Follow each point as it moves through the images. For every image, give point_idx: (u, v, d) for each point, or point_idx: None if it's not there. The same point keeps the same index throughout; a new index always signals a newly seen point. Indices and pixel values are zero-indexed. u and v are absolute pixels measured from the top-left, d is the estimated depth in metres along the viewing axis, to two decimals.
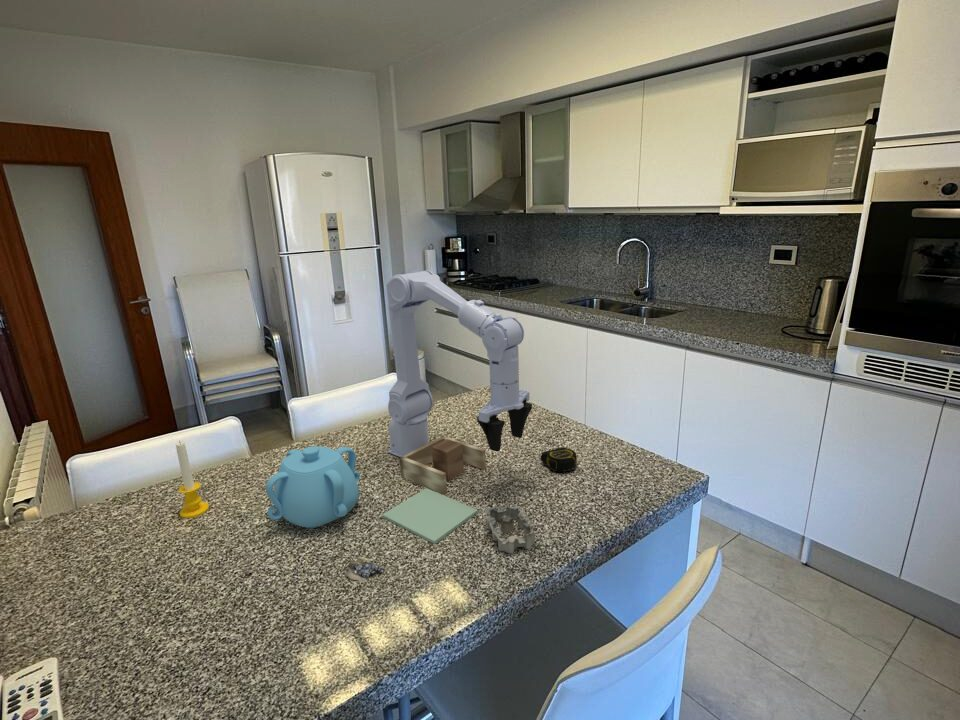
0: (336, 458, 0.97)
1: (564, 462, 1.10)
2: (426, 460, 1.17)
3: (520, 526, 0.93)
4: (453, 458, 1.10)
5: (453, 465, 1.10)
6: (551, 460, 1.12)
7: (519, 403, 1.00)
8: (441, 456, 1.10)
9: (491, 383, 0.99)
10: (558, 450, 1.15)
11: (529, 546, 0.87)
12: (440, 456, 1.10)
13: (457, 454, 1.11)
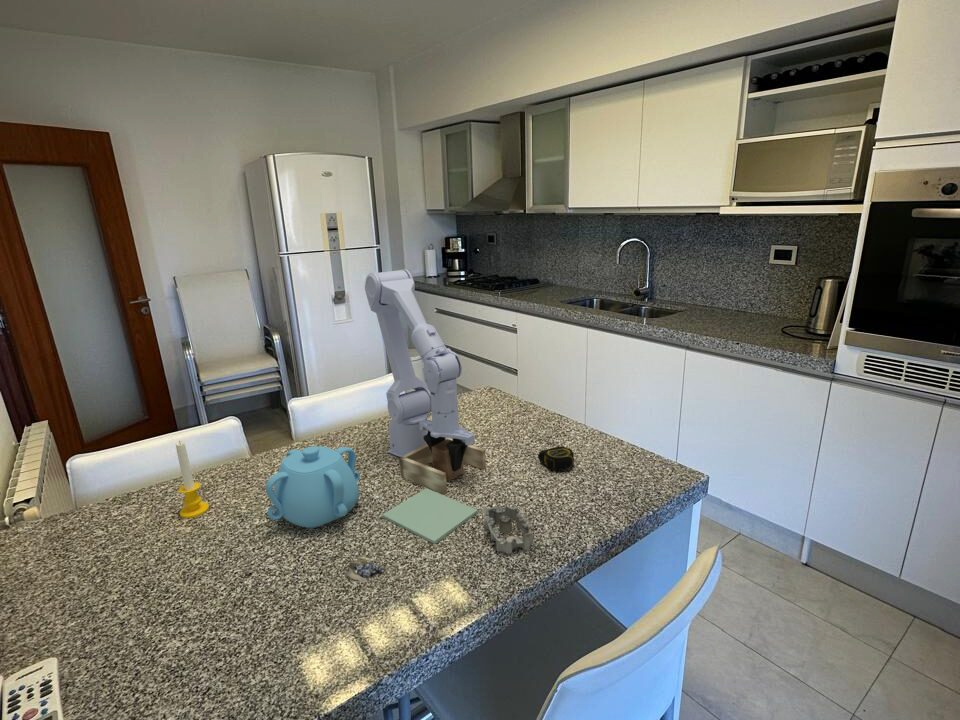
0: (336, 458, 0.97)
1: (562, 461, 1.11)
2: (426, 460, 1.17)
3: (519, 526, 0.93)
4: None
5: None
6: (549, 459, 1.12)
7: (437, 433, 1.08)
8: (441, 456, 1.10)
9: None
10: (556, 449, 1.15)
11: (527, 546, 0.87)
12: (440, 455, 1.10)
13: None
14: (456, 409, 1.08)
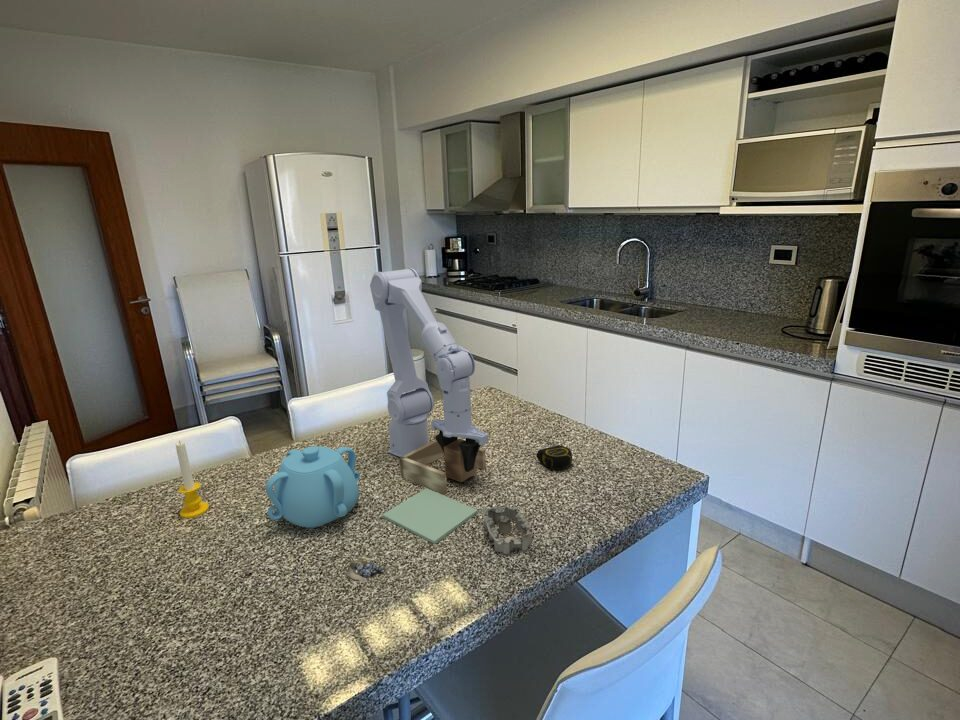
0: (335, 458, 0.97)
1: (560, 460, 1.11)
2: (426, 460, 1.17)
3: (518, 527, 0.92)
4: None
5: None
6: (547, 458, 1.13)
7: (449, 433, 1.05)
8: (454, 456, 1.07)
9: None
10: (554, 448, 1.16)
11: (525, 547, 0.87)
12: (453, 456, 1.07)
13: None
14: (469, 408, 1.05)
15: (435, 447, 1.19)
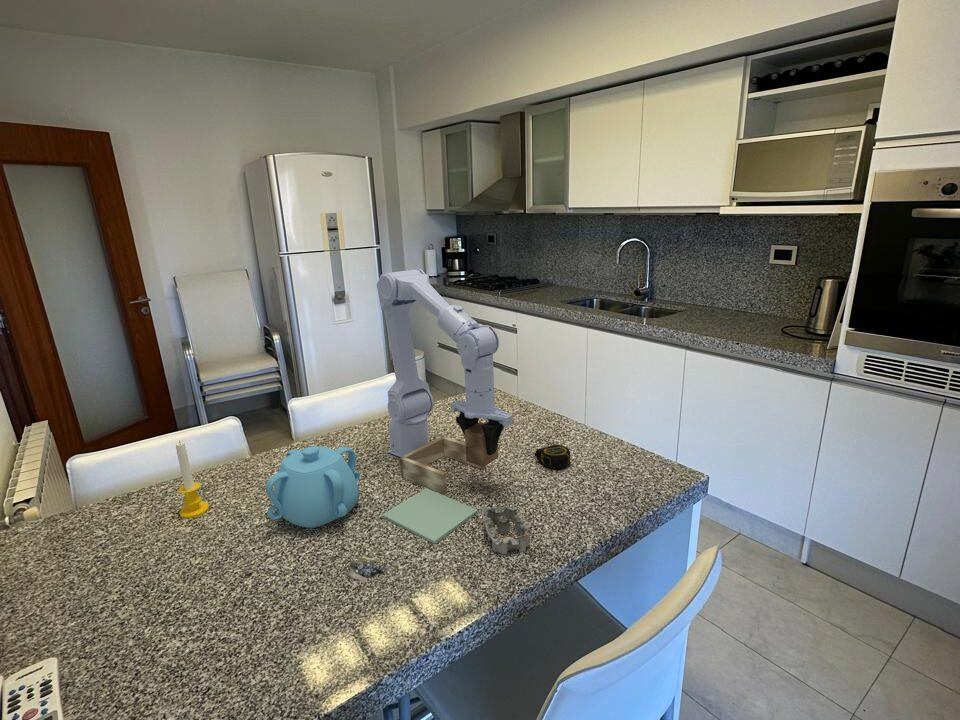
0: (336, 458, 0.97)
1: (558, 459, 1.12)
2: (426, 460, 1.17)
3: (517, 527, 0.92)
4: None
5: None
6: (545, 457, 1.13)
7: (471, 414, 1.00)
8: (475, 439, 1.02)
9: None
10: (552, 447, 1.16)
11: (523, 548, 0.87)
12: (474, 439, 1.02)
13: None
14: (493, 387, 1.00)
15: (435, 447, 1.19)
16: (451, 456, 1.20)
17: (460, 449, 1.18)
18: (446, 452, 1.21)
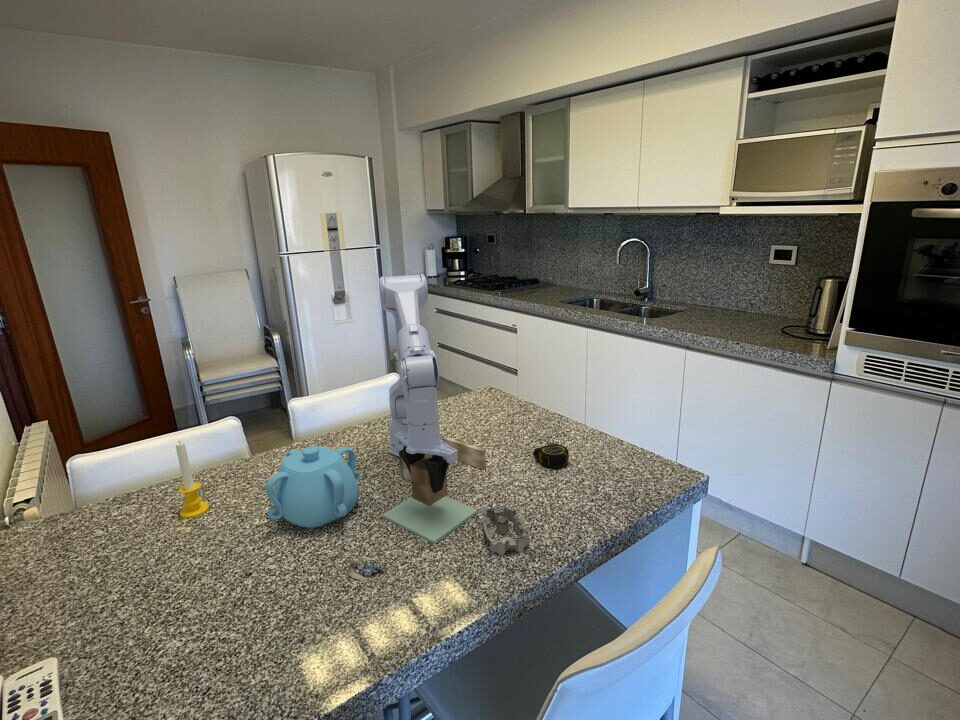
0: (336, 458, 0.97)
1: (556, 458, 1.12)
2: None
3: (515, 528, 0.92)
4: None
5: None
6: (544, 456, 1.14)
7: (413, 448, 0.91)
8: (421, 476, 0.94)
9: None
10: (550, 446, 1.17)
11: (521, 549, 0.86)
12: (420, 475, 0.94)
13: None
14: (432, 422, 0.90)
15: None
16: None
17: (460, 449, 1.18)
18: None
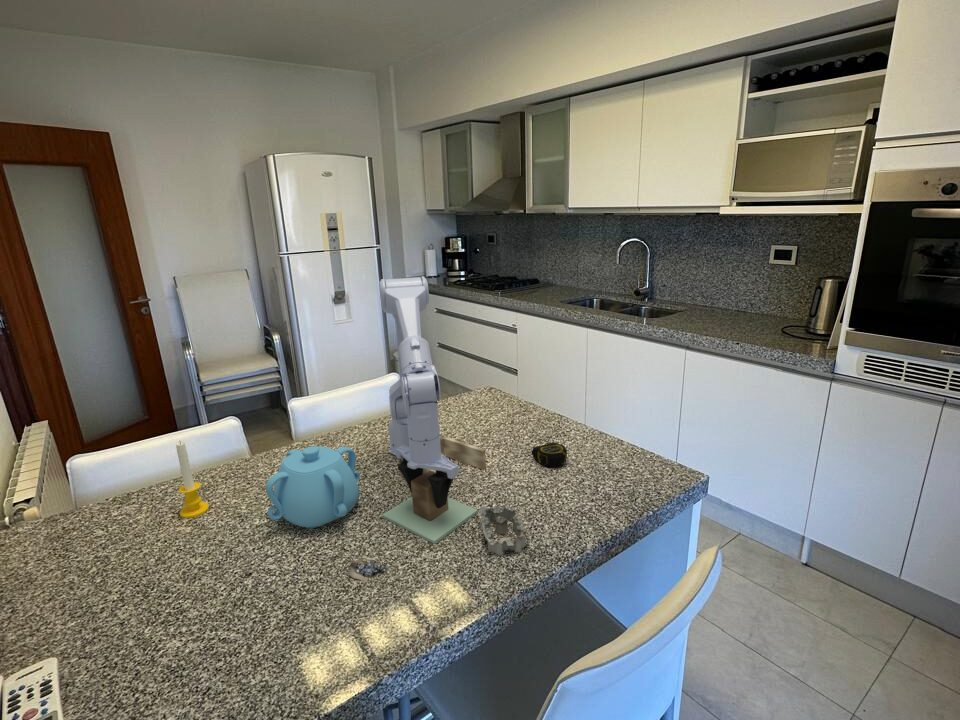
0: (336, 458, 0.97)
1: (555, 457, 1.13)
2: None
3: (514, 528, 0.92)
4: None
5: None
6: (542, 455, 1.14)
7: (414, 464, 0.92)
8: (422, 492, 0.94)
9: None
10: (549, 445, 1.17)
11: (519, 549, 0.86)
12: (421, 491, 0.95)
13: None
14: (433, 438, 0.91)
15: None
16: (451, 456, 1.20)
17: (460, 449, 1.18)
18: (446, 452, 1.21)
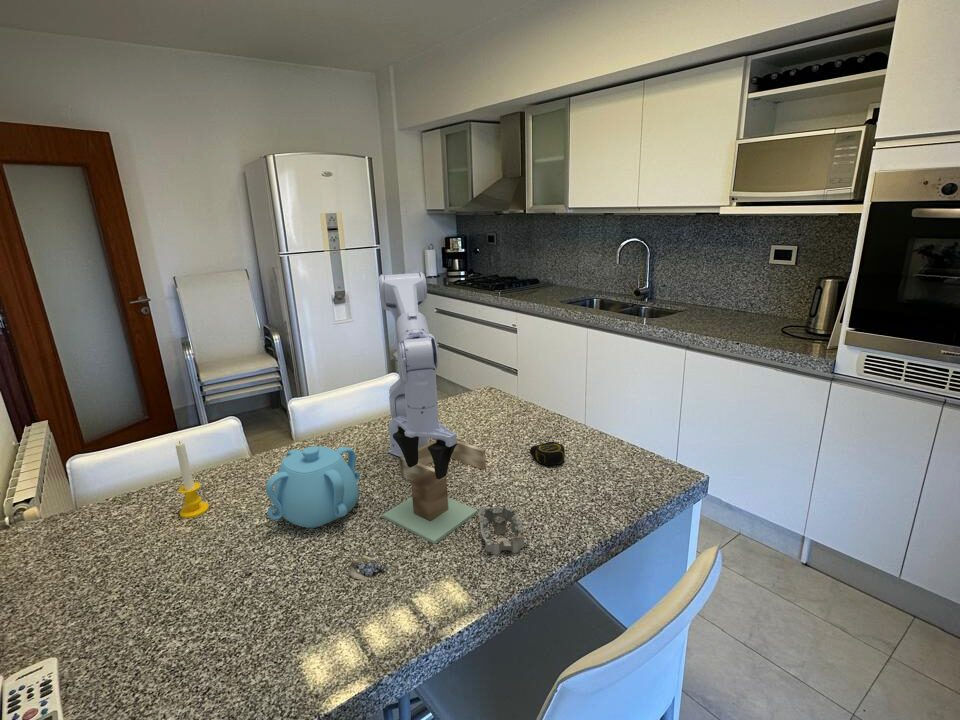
0: (336, 458, 0.97)
1: (552, 456, 1.13)
2: (426, 460, 1.17)
3: (513, 529, 0.92)
4: (435, 494, 0.95)
5: (435, 502, 0.95)
6: (540, 454, 1.15)
7: (412, 432, 0.90)
8: (422, 492, 0.94)
9: None
10: (547, 444, 1.18)
11: (516, 550, 0.86)
12: (421, 491, 0.95)
13: (440, 489, 0.96)
14: (430, 406, 0.90)
15: None
16: (451, 456, 1.20)
17: (460, 449, 1.18)
18: None
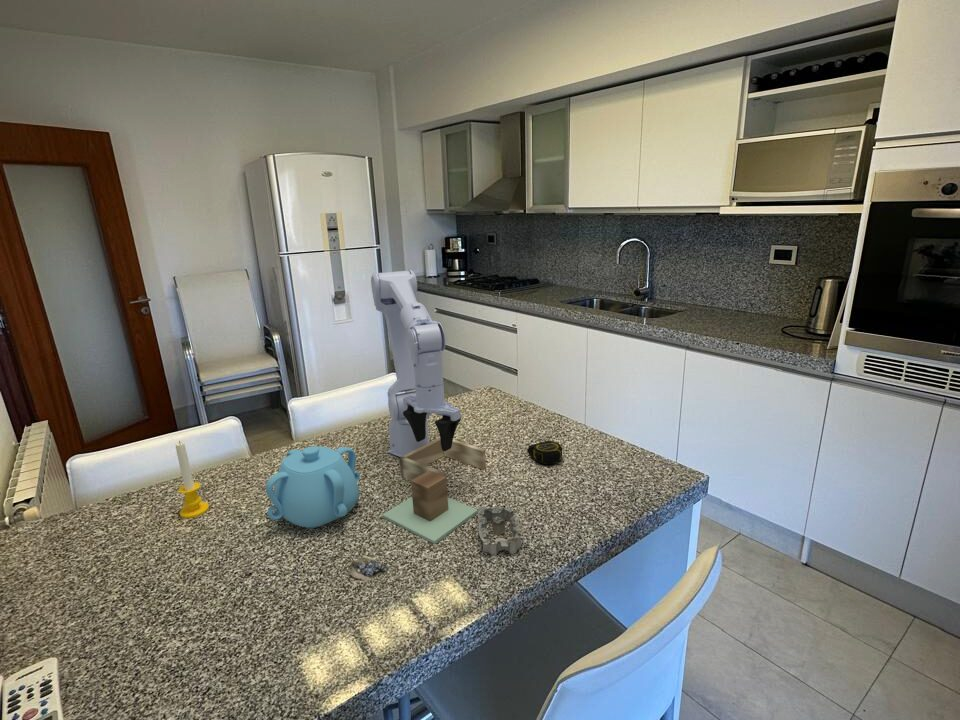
0: (336, 458, 0.97)
1: (550, 455, 1.14)
2: (426, 460, 1.17)
3: (512, 529, 0.92)
4: (435, 494, 0.95)
5: (435, 502, 0.95)
6: (538, 453, 1.15)
7: (420, 408, 1.01)
8: (422, 492, 0.94)
9: None
10: (544, 443, 1.18)
11: (513, 550, 0.86)
12: (421, 491, 0.95)
13: (440, 489, 0.96)
14: (439, 384, 1.01)
15: (435, 447, 1.19)
16: (451, 456, 1.20)
17: (460, 449, 1.18)
18: (446, 452, 1.21)
